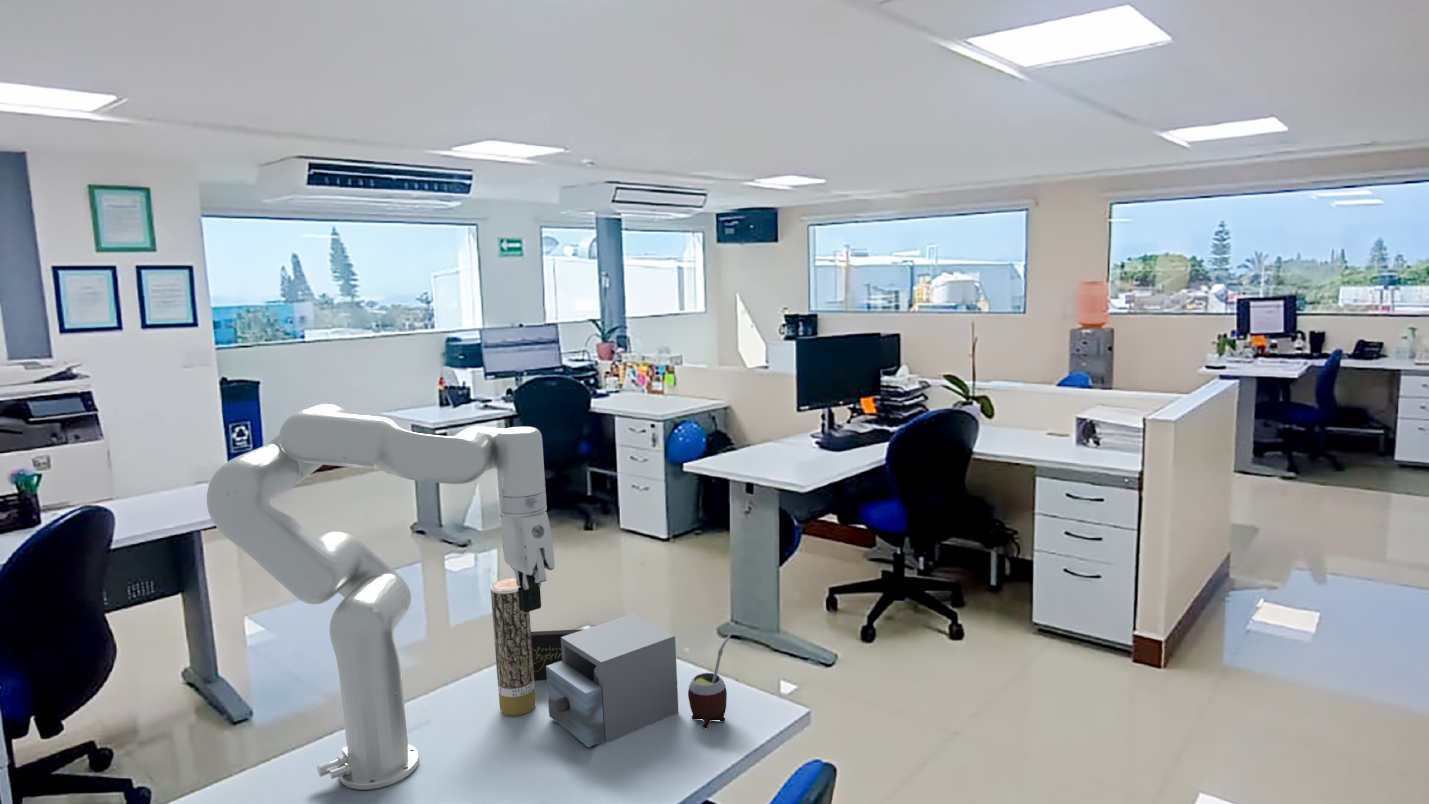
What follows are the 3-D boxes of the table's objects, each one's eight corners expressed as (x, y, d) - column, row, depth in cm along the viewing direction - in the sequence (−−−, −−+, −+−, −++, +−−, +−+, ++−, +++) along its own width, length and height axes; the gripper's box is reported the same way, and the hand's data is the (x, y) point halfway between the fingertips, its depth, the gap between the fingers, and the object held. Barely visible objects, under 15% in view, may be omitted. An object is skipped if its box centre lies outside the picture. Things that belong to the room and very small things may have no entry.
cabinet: (605, 743, 151) (601, 662, 149) (565, 713, 162) (560, 637, 160) (678, 712, 161) (675, 635, 159) (635, 685, 172) (632, 614, 170)
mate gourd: (685, 728, 155) (682, 650, 153) (695, 706, 163) (692, 632, 161) (725, 731, 154) (722, 652, 152) (733, 709, 161) (731, 634, 159)
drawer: (580, 750, 148) (577, 696, 147) (541, 719, 159) (538, 668, 158) (671, 712, 160) (669, 661, 159) (629, 685, 171) (626, 638, 170)
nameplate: (517, 682, 176) (514, 636, 175) (519, 678, 178) (516, 632, 176) (619, 677, 177) (617, 631, 175) (620, 673, 178) (617, 627, 177)
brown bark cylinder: (540, 700, 168) (532, 578, 164) (529, 718, 161) (520, 591, 157) (506, 699, 168) (497, 578, 165) (494, 717, 162) (485, 591, 158)
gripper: (565, 506, 137) (572, 615, 139) (523, 490, 148) (530, 591, 151) (522, 515, 132) (530, 628, 135) (482, 498, 144) (490, 602, 146)
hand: (530, 608), depth 143 cm, fingers closed
